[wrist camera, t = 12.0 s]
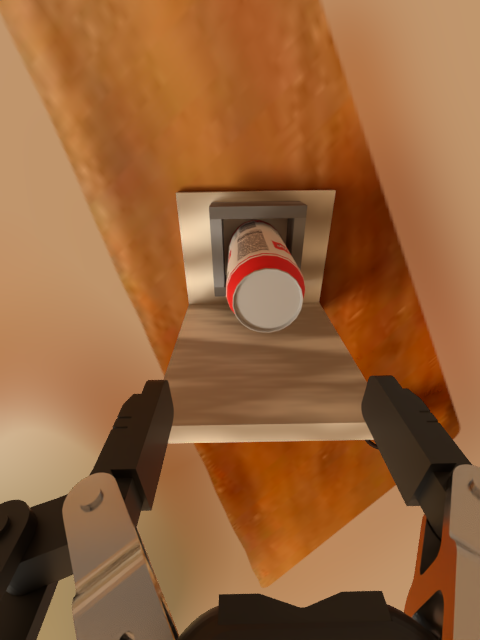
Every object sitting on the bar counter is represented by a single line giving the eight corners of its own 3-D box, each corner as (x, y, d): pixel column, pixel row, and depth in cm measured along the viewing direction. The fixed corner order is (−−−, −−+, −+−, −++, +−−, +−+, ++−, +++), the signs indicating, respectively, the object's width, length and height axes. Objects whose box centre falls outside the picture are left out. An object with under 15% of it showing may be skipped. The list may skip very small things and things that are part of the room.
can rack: (315, 311, 39) (383, 439, 21) (191, 313, 39) (152, 443, 21) (333, 189, 31) (468, 225, 13) (177, 192, 31) (94, 231, 13)
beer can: (269, 208, 31) (295, 244, 17) (287, 257, 34) (321, 321, 20) (220, 231, 32) (208, 282, 19) (242, 276, 35) (245, 349, 21)
